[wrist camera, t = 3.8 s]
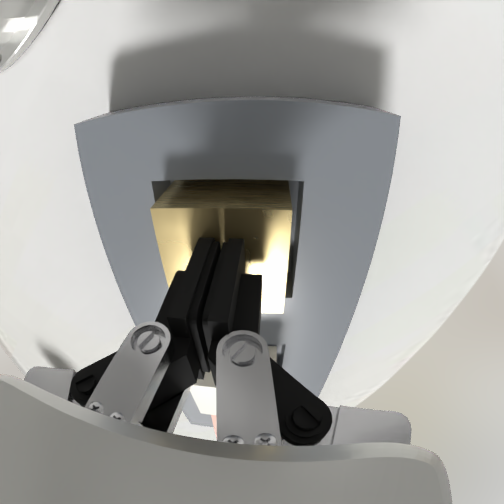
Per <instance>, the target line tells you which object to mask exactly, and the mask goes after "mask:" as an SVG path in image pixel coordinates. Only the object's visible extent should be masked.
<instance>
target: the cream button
mask: <svg viewBox="0 0 504 504" xmlns="http://www.w3.org/2000/svg"><path fill="white" fill-rule="evenodd" d="M268 349H269V356H270V357H271V358H272V359H273V360H274V361H275V362H277V346H268ZM190 392H191V394H192V396H193V398H194V400H195V402H196V405H197V407H198V409H199V411H200V413H202V414H209V415H216V386H215V384H214V380H213V376H212V373H211V370H210V372H205V375H204V380H202V379H197V383H196V384H194V385H192V386H191V387H190Z"/></svg>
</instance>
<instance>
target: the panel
mask: <svg viewBox="0 0 504 504" xmlns="http://www.w3.org/2000/svg"><path fill="white" fill-rule="evenodd" d="M400 118H401V116H399V115H396V114H393V113H390V112H387V111H384V110H381V109H378V108H374V107H369V106H363V105H357V104H351V103H343V102H336V101H327V100H317V99H305V98H289V97H220V98H204V99H192V100H182V101H173V102H166V103H158V104H152V105H146V106H140V107H134V108H129V109H124V110H119V111H114V112H110V113H106V114H103V115H100V116H97V117H94V118H91V119H88V120H85V121H82V122H80V123H77V124H74V127H75V133H76V140H77V145H78V151H79V156H80V161H81V166H82V171H83V175H84V179H85V184H86V188H87V192H88V196H89V199H90V203H91V207H92V210H93V214H94V217H95V221H96V224H97V227H98V231H99V234H100V237H101V240H102V243H103V246H104V249H105V252H106V255H107V258H108V260H109V263H110V266H111V269H112V271H113V274H114V276H115V279H116V282H117V284H118V287H119V289H120V291H121V294H122V296H123V299H124V301H125V303H126V306H127V308H128V310H129V312H130V315H131V317H132V319H133V321H134V323H135V326H137V325H139V324H141V323H144V322H150V321H153V322H155V320H156V318H157V315H158V313H159V310H160V308H161V306H162V303H163V301H164V299H165V296H166V294H167V292H168V289H169V287H168V284H167V280H166V276H165V272H164V268H163V264H162V260H161V256H160V252H159V248H158V243H157V239H156V235H155V230H154V225H153V221H152V216H151V211H150V208H151V207H152V206H153V204H154V203H155V202H156V201H157V200H158V199H159V197H160V196H161V195H162V194H163V193H164V192H165V191H166V189H167V188H168V187H169V186H170V185H171V184H172V183H173V182H174V180H196V179H257V180H288V181H289V188H290V195H291V203H292V223H291V236H290V248H289V259H288V270H287V280H286V290H285V300H284V310H283V313H261V322H260V336H261V337H263V339H264V340H265V341H266V343H267V346H277V362H276V363H277V364H279V365H280V366H281V367H282V368H283V369H284V370H285V371H287V372H288V373H289V374H290V375H291V376H293V377H294V378H295V379H296V380H297V381H298V382H300V383H301V384H302V385H303V386H304V387H306V388H307V389H308V390H309V391H311V392H312V393H313V394H314V395H315V396H317V397H318V396H319V394H320V392H321V390H322V388H323V386H324V384H325V382H326V380H327V377H328V375H329V373H330V371H331V369H332V366H333V364H334V362H335V359H336V357H337V355H338V352H339V350H340V348H341V345H342V343H343V340H344V338H345V335H346V333H347V330H348V328H349V325H350V322H351V320H352V317H353V314H354V312H355V309H356V306H357V303H358V300H359V298H360V295H361V292H362V289H363V286H364V283H365V279H366V276H367V273H368V270H369V267H370V263H371V260H372V257H373V253H374V250H375V246H376V242H377V239H378V235H379V231H380V227H381V223H382V219H383V215H384V211H385V206H386V202H387V197H388V193H389V188H390V183H391V178H392V172H393V167H394V161H395V155H396V148H397V142H398V134H399V126H400ZM182 411H183V412H184V414H185V415H186V417H187V419H188V420H189V422H190V423H191V424H195V425H201V426H209V427H214V426H213V422H212V418H211V415H209V414H202V413H200V411H199V409H198V407H197V405H196V402H195V400H194V398H193V396H192V394H191V392H189V395H188V397H187V400H186V402H185V405H184V407H183V410H182Z"/></svg>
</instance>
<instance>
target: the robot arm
mask: <svg viewBox="0 0 504 504" xmlns="http://www.w3.org/2000/svg"><path fill="white" fill-rule="evenodd" d="M58 2H59V0H0V73H1V72H3V71H4V70H6V69H7V68H9V67H10V66H11V65H12V64H13V63H14V62H15V61H16V60H18V59H19V58H20V56H21V55H22V54H23V53H24V52H25V51H26V49H27V48H28V47H29V46H30V45H31V43H32V42H33V40H34V39H35V38H36V36H37V35H38V34H39V32H40V31H41V29H42V28H43V26H44V25H45V23H46V22H47V20H48V19H49V17H50V16H51V14H52V12H53V10H54V9H55V7H56V5H57V3H58ZM262 283H263V275H262V274H245V246H244V239H236V238H229V240H228V242H223V245H222V248H221V247H220V242H215V238H204V237H200V238H199V239H198V241H197V244H196V246H195V248H194V251H193V253H192V255H191V258H190V260H189V262H188V265H187V267H186V270H185V271H183V270H178V271H177V272H176V274H175V276H174V278H173V280H172V282H171V285H170V287H169V289H168V292H167V294H166V296H165V299H164V301H163V303H162V306H161V308H160V310H159V313H158V315H157V318H156V320H155V322H153V321H150V322H144V323H141V324H139V325H137V326H136V327H134V328H133V329H132V330H131V331H130V332H129V334H128V335H127V337H126V338H125V340H124V341H123V343H122V345H121V346H120V348H119V349H118V351H117V352H115V353H113V354H111V355H109V356H107V357H105V358H103V359H101V360H99V361H97V362H95V363H93V364H91V365H89V366H87V367H85V368H83V369H81V370H80V371H79V372H75V371H74V370H69V369H57V368H47V367H33V368H32V369H30V370H29V371H28V372H27V374H26V376H25V379H24V380H22V379H20V378H17V377H14V376H10V375H5V374H0V504H452V498H451V490H450V484H449V480H448V475H447V472H446V469H445V467H444V464H443V462H442V460H441V459H440V458H439V457H438V455H436V454H435V453H434V452H432V451H430V450H427V449H425V448H422V447H418V446H414V445H410V440H411V424H410V422H409V420H408V418H407V417H406V416H404V415H403V414H402V413H399V412H394V411H381V410H372V409H363V408H355V407H347V406H341V405H340V407H339V408H338V407H332V406H327V405H326V404H325V403H324V402H323V401H322V400H320V399H319V398H318V397H317V396H315V395H314V394H313V393H312V392H311V391H309V390H308V389H307V388H306V387H304V386H303V385H302V384H301V383H300V382H298V381H297V380H296V379H295V378H294V377H293V376H291V375H290V374H289V373H288V372H287V371H285V370H284V369H283V368H282V367H281V366H280V365H279V364H277V363H276V362H275V361H274V360H273V359H272V358H271V357H270V356H269V349H268V346H267V343H266V341H265V340H264V339H263V337H261V336H260V322H261V308H262ZM210 370H211V373H212V376H213V380H214V384H215V386H216V417H217V441H211V440H204V439H198V438H192V437H186V436H181V435H176V434H173V432H174V429H175V427H176V424H177V422H178V419H179V417H180V414H181V412H182V410H183V407H184V405H185V402H186V400H187V397H188V395H189V392H190V387H191V386H192V385H194V384H196V383H197V379H202V380H204V375H205V372H210Z"/></svg>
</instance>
